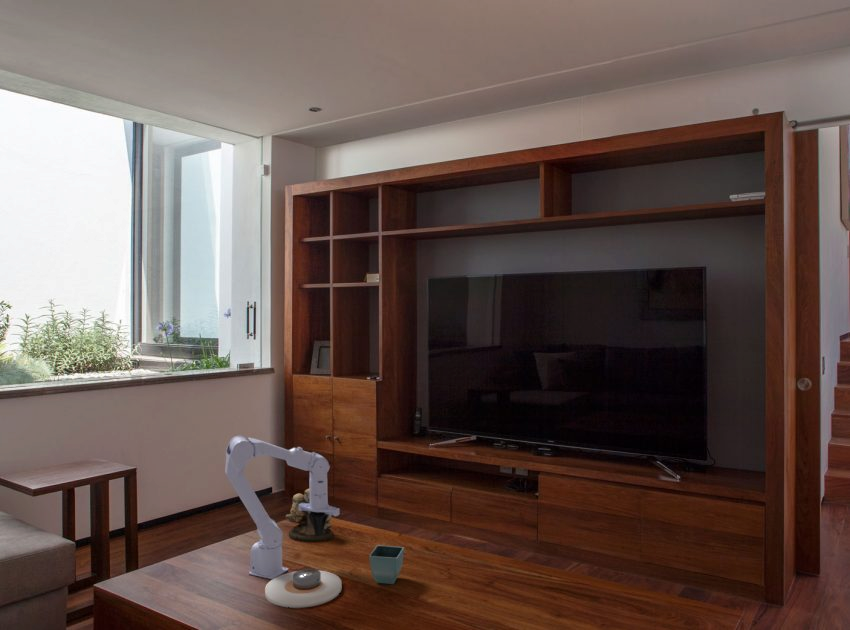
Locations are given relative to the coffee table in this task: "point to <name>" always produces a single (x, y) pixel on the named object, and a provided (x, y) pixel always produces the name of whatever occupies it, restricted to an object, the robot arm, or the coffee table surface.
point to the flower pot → (386, 563)
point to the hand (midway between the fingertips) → (319, 535)
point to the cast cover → (306, 579)
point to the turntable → (302, 591)
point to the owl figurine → (306, 522)
